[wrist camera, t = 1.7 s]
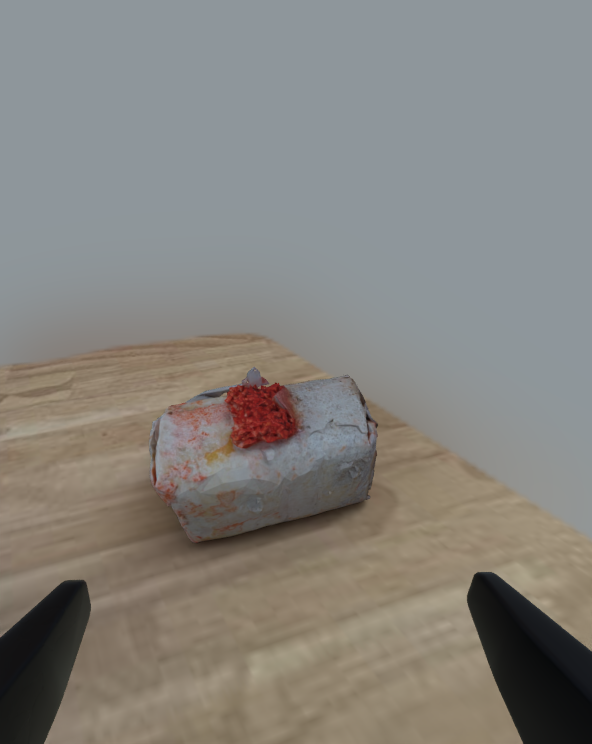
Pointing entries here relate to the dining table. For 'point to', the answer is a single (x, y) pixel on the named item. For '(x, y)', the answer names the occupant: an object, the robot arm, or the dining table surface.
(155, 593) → the dining table surface
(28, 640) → the robot arm
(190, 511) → the food item
